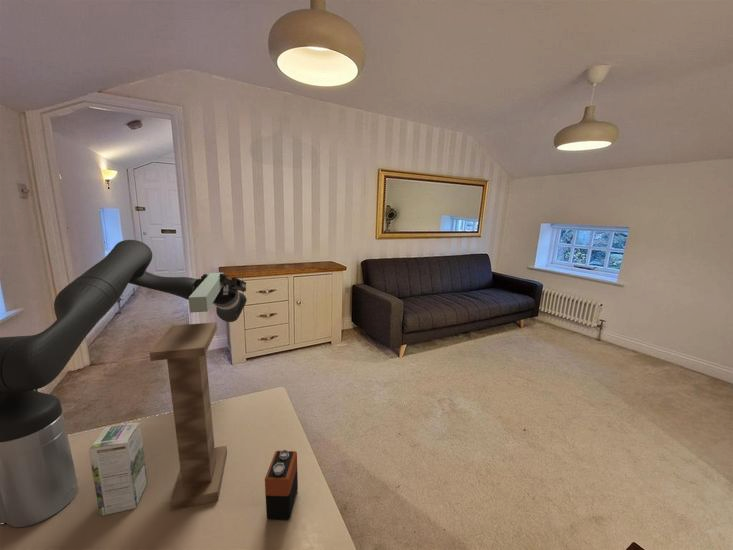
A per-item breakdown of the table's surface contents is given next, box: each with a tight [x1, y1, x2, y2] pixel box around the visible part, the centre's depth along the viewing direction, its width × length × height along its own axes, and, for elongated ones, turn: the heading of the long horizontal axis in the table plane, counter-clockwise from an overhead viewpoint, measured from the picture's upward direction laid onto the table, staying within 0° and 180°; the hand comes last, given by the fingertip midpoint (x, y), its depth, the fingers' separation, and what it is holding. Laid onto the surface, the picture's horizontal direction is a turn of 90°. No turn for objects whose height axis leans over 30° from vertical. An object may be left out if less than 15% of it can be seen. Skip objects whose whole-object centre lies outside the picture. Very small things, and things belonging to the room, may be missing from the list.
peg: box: [188, 272, 224, 314], centre depth 67 cm, size 3×22×3 cm, turn 17°
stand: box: [149, 322, 228, 512], centre depth 59 cm, size 8×12×32 cm, turn 17°
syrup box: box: [88, 422, 148, 517], centre depth 56 cm, size 6×6×14 cm
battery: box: [264, 449, 299, 521], centre depth 57 cm, size 4×7×10 cm, turn 179°
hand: (213, 277), depth 72 cm, fingers closed on peg, 3 cm apart
